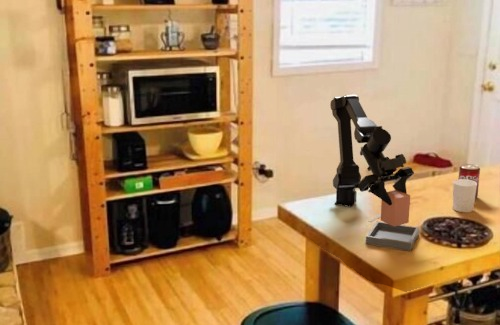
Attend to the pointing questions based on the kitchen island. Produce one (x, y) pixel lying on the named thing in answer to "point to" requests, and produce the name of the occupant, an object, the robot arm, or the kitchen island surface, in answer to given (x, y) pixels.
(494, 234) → the kitchen island surface
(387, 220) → the terracotta block
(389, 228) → the charcoal tray
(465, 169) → the soda can
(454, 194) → the white cup
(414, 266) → the kitchen island surface
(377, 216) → the butter knife
